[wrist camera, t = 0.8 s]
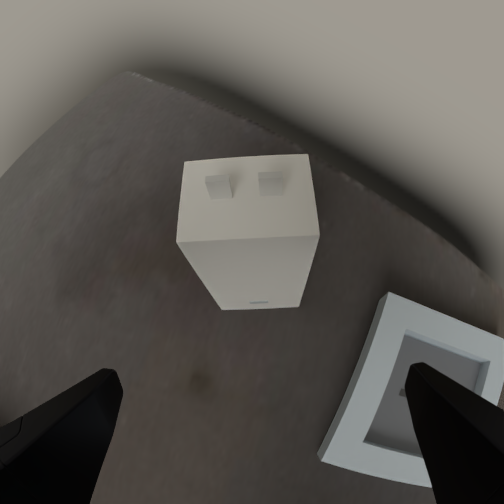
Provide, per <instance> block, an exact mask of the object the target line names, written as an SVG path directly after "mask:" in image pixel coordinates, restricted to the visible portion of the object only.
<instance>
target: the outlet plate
mask: <svg viewBox="0 0 504 504" xmlns="http://www.w3.org/2000/svg"><path fill="white" fill-rule="evenodd" d="M418 362H424V363H426V364H428V365H429V366H431V367H433V368H434V369H436V370H438V371H439V372H441V373H443V374H444V375H446V376H448V377H449V378H451V379H453V380H454V381H456V382H458V383H459V384H461V385H463V386H464V387H466V388H468V389H469V390H471V391H473V392H474V393H476V394H478V395H479V396H481V397H483V398H484V399H486V400H488V401H489V402H491V403H493V404H494V405H496V406H497V404H498V401H499V397H500V393H501V390H502V386H503V382H504V339H503V338H500V337H498V336H496V335H493V334H491V333H488V332H486V331H484V330H481V329H479V328H476V327H474V326H472V325H469V324H467V323H464V322H462V321H459V320H457V319H455V318H452V317H450V316H447V315H445V314H442V313H440V312H438V311H435V310H433V309H430V308H428V307H425V306H423V305H420V304H418V303H416V302H413V301H411V300H408V299H406V298H403V297H401V296H398V295H396V294H393V293H391V292H388V293H387V294H386V295H385V296H383V297H382V298H381V299H380V300H379V303H378V306H377V309H376V312H375V315H374V318H373V321H372V324H371V327H370V330H369V332H368V335H367V338H366V341H365V344H364V346H363V349H362V352H361V354H360V357H359V360H358V362H357V365H356V367H355V370H354V372H353V375H352V377H351V380H350V382H349V385H348V387H347V390H346V392H345V394H344V397H343V399H342V401H341V404H340V406H339V408H338V410H337V412H336V415H335V417H334V419H333V421H332V423H331V426H330V428H329V430H328V432H327V434H326V436H325V438H324V440H323V442H322V444H321V446H320V448H319V450H318V452H317V455H318V457H319V458H320V460H321V461H323V462H326V463H329V464H332V465H335V466H339V467H342V468H346V469H349V470H353V471H356V472H360V473H364V474H368V475H372V476H376V477H380V478H384V479H389V480H394V481H398V482H403V483H408V484H414V485H419V486H425V487H432V485H431V482H430V478H429V475H428V472H427V469H426V465H425V462H424V459H423V456H422V453H421V450H420V447H419V444H418V441H417V438H416V435H415V432H414V428H413V424H412V420H411V415H410V411H409V406H408V402H407V398H406V394H405V388H404V386H405V381H406V378H407V374H408V371H409V367H410V365H411V364H413V363H418Z"/></svg>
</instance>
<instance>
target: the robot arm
mask: <svg viewBox="0 0 504 504" xmlns="http://www.w3.org/2000/svg"><path fill="white" fill-rule="evenodd" d="M404 388H405V394H406V398H407V402H408V406H409V411H410V415H411V420H412V424H413V428H414V432H415V435H416V438H417V441H418V444H419V447H420V450H421V453H422V456H423V459H424V462H425V465H426V469H427V472H428V475H429V478H430V482H431V485H432V489H433V492H434V495H435V499H436V503H437V504H504V411H503V409H501V408H499V407H498V406H496V405H494V404H493V403H491V402H489V401H488V400H486V399H484V398H483V397H481V396H479V395H478V394H476V393H474V392H473V391H471V390H469V389H468V388H466V387H464V386H463V385H461V384H459V383H458V382H456V381H454V380H453V379H451V378H449V377H448V376H446V375H444V374H443V373H441V372H439V371H438V370H436V369H434V368H433V367H431V366H429V365H428V364H426V363H424V362H418V363H413V364H411V365H410V367H409V371H408V374H407V378H406V381H405V386H404ZM122 397H123V389H122V386H121V383H120V380H119V378H118V375H117V372H116V371H115V370H113V369H107V368H103V369H101V370H99V371H98V372H96V373H94V374H93V375H91V376H89V377H88V378H86V379H84V380H83V381H81V382H79V383H77V384H76V385H74V386H72V387H71V388H69V389H67V390H66V391H64V392H62V393H61V394H59V395H57V396H55V397H54V398H52V399H50V400H49V401H47V402H45V403H43V404H42V405H40V406H38V407H37V408H35V409H33V410H31V411H30V412H28V413H26V414H24V415H23V416H21V417H19V418H17V419H16V420H14V421H12V422H10V423H8V424H7V425H5V426H3V427H1V428H0V504H90V500H91V497H92V494H93V491H94V488H95V485H96V482H97V479H98V476H99V473H100V470H101V467H102V464H103V461H104V459H105V456H106V453H107V450H108V447H109V444H110V442H111V439H112V436H113V433H114V429H115V425H116V421H117V417H118V413H119V409H120V405H121V401H122Z"/></svg>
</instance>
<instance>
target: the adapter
mask: <svg viewBox="0 0 504 504" xmlns="http://www.w3.org/2000/svg"><path fill="white" fill-rule="evenodd" d="M319 237H320V232H319V224H318V217H317V209H316V202H315V195H314V188H313V182H312V175H311V169H310V163H309V157H308V154H290V155H266V156H248V157H234V158H221V159H209V160H198V161H188V162H185V163H184V171H183V179H182V188H181V197H180V206H179V216H178V227H177V238H176V243H177V244H178V246H179V248H180V249H181V251H182V252H183V254H184V255H185V257H186V258H187V260H188V261H189V263H190V264H191V266H192V267H193V269H194V270H195V272H196V273H197V275H198V276H199V277H200V279H201V280H202V282H203V283H204V285H205V286H206V288H207V289H208V291H209V292H210V294H211V295H212V296H213V298H214V299H215V301H216V302H217V304H218V305H219V307H220V308H221V309H222V310H239V309H266V308H287V307H299V304H300V301H301V298H302V295H303V292H304V288H305V285H306V282H307V278H308V275H309V272H310V268H311V265H312V261H313V258H314V254H315V251H316V247H317V244H318V240H319Z"/></svg>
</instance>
